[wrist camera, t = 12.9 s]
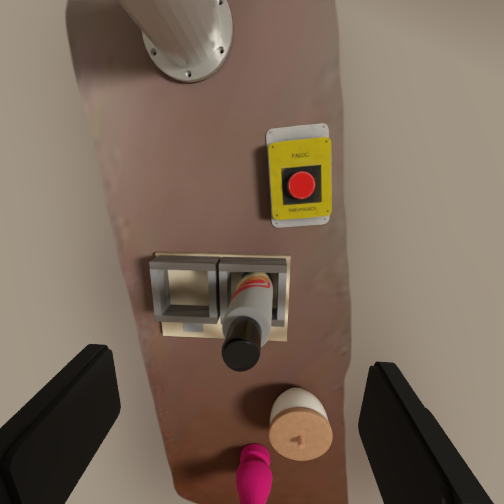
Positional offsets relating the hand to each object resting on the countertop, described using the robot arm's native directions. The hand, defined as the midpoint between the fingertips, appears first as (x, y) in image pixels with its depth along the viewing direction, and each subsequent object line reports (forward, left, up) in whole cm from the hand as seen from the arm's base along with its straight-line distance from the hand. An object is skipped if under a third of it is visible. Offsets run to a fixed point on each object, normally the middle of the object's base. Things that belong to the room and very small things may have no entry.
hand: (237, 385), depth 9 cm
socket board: (+13, -7, -34) cm, 37 cm away
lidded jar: (+35, +7, -34) cm, 49 cm away
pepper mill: (+50, -1, -34) cm, 60 cm away
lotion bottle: (+9, -1, -33) cm, 35 cm away
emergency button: (-8, +5, -35) cm, 36 cm away
